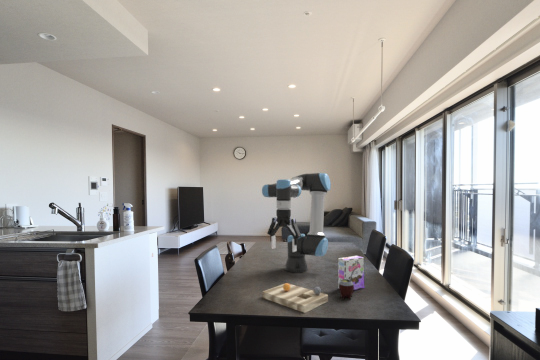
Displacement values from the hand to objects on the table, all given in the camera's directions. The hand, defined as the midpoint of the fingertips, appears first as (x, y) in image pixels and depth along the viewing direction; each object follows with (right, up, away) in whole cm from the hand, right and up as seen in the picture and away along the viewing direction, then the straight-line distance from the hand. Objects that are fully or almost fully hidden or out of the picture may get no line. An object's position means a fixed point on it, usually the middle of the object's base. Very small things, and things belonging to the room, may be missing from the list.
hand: (283, 249), depth 150 cm
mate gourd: (+31, -21, -9) cm, 39 cm away
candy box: (+36, -22, +4) cm, 43 cm away
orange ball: (+1, -17, -7) cm, 18 cm away
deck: (+5, -21, -11) cm, 24 cm away
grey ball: (+15, -16, -13) cm, 26 cm away
